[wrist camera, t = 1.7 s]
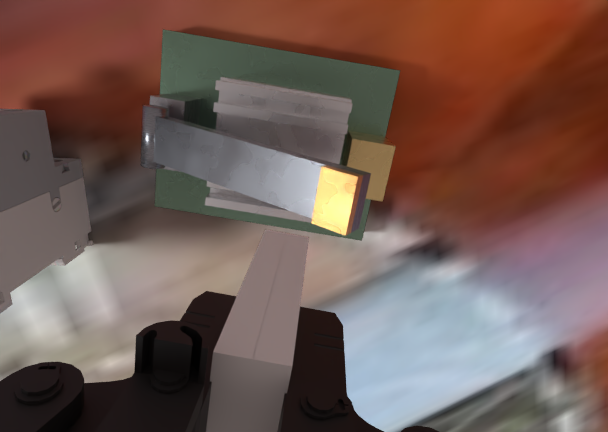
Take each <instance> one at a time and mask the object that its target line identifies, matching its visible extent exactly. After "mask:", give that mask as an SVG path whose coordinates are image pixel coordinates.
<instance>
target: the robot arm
mask: <svg viewBox="0 0 608 432" xmlns="http://www.w3.org/2000/svg"><path fill="white" fill-rule="evenodd" d="M308 240H309V237H305V236H300V235H294V234H289V233H283V232H278V231H272V230H267V229H265V231H264V233H263V236H262V238H261V240H260V243H259V245H258V247H257V250H256V252H255V255H254V257H253V259H252V262H251V264H250V266H249V269H248V271H247V273H246V276H245V278H244V280H243V283H242V285H241V288H240V290H239V292H238V295H237V297H236V296H231V295H225V294H220V293H214V292H209V291H206V292H204V293H203V294H201V295H200V296H198V297H196V298H195V299H193V301H192V302H191V304H190V305H189V307H188V309H187V310H186V313H185V314H184V315H183V317H182V318H181V320H180V321H165V322H159V323H155V324H153V325H151V326H148V327H146V328H144V329H143V330H142V331H141V332H140V333H139V334H137V335H136V354H135V373H134V374H133V376H132V377H130V378H127V379H124V380H118V381H111V382H97V383H84V378H83V375H82V373H81V371H80V370H79V369H77V368H76V367H74V366H73V365H71V364H66V363H62V362H44V363H39V364H35V365H31V366H28V367H25V368H23V369H21V370H19V371H17V372H15V373H13V374H11V375H9V376H8V377H6V378H5V379H3V380H1V381H0V432H384V431H382V430H379V429H377V428H375V427H374V426H372V425H370V424H368V423H367V422H366V421H364V420H363V419H362V418H361V417H360V416H358V414H357V413H356V412H355V411H354V408H353V405H352V402H351V400H350V399H349V398H348V397H347V392H346V374H345V356H344V341H343V338H344V337H343V325H342V323H341V322H340V320H339V319H338V317H337V316H336V314H335V313H332V312H326V311H321V310H315V309H310V308H304V307H300V303H301V295H302V287H303V279H304V272H305V264H306V256H307V248H308ZM401 432H439V431H437V430H434V429H432V428H429V427H423V426H412V427H407V428H404V429H403V430H402V431H401Z"/></svg>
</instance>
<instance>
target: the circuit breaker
mask: <svg viewBox="0 0 608 432" xmlns="http://www.w3.org/2000/svg"><path fill="white" fill-rule="evenodd" d="M89 232H91V225H90V218H89V211H88V204H87V197H86V190H85V184H84V177H83V170H82V163H81V159H74V158H53V153H52V147H51V141H50V136H49V130H48V124H47V118H46V112H45V110H25V109H0V313H1V312H3V311H4V310H6V309H7V308H8V307H10V306H11V305H12V300H11V295H10V292H11V291H13V290H14V289H16V288H17V287H19V286H20V285H21V284H23V283H24V282H26V281H27V280H29V279H30V278H32V277H33V276H34V275H36V274H37V273H39V272H40V271H42V270H43V269H44V268H46V267H47V266H49V265H63V266H65V265H66V264H68V263H69V262H70V261H72V260H73V259H74V258H76V257H77V256H78V255H80V254H81V253H82V252H84V248H85V247H86V246H92V245H93V240H89V238H88V233H89ZM75 245H77V249H75Z"/></svg>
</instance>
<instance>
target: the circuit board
mask: <svg viewBox="0 0 608 432" xmlns="http://www.w3.org/2000/svg"><path fill="white" fill-rule="evenodd" d="M399 74H400V71H399V70H393V69H388V68H382V67H376V66H370V65H365V64H359V63H353V62H347V61H342V60H336V59H330V58H324V57H319V56H313V55H307V54H301V53H296V52H290V51H284V50H278V49H273V48H267V47H261V46H255V45H250V44H244V43H238V42H232V41H227V40H221V39H215V38H209V37H204V36H198V35H192V34H186V33H181V32H175V31H169V30H163V38H162V59H161V80H160V95H152V96H150V105H157V106H163V107H167V108H168V117H172V118H175V119H179V120H183V121H186V122H190V123H193V124H197V125H200V126H204V127H208V128H211V129H215V130H218V131H222V132H226V133H229V134H233V135H236V136H240V137H243V138H247V139H251V140H254V141H258V142H261V143H265V144H268V145H272V146H276V147H279V148H283V149H286V150H290V151H293V152H297V153H301V154H304V155H308V156H311V157H315V158H318V159H322V160H326V161H329V162H333V163H336V164H340V165H344V166H347V167H351V168H354V169H358V170H361V171H365V172H369V173H371V176H370V181H369V185H368V190H367V194H366V199H365V204H364V208H363V213H362V217H361V222H360V226H359V229H357V230H355V231H353V232H352V233H350V234H348V235H346V236H345V235H342V234H340V233H337V232H334V231H331V230H329V229H326V228H323V227H320V226H318V225H315V224H312V223H311V222H312V219H311V218H308V217H305V216H303V215H300V214H297V213H294V212H292V211H289V210H286V209H283V208H281V207H278V206H275V205H272V204H269V203H267V202H264V201H261V200H258V199H256V198H253V197H250V196H247V195H245V194H242V193H239V192H236V191H233V190H231V189H228V188H225V187H222V186H220V185H217V184H214V183H211V182H209V181H206V180H203V179H200V178H198V177H195V176H192V175H189V174H186V173H184V172H181V171H178V170H175V169H173V168H170V167H167V166H165V168H162V169H156V187H155V206H156V207H162V208H168V209H174V210H180V211H186V212H192V213H198V214H204V215H210V216H216V217H223V218H229V219H235V220H241V221H247V222H253V223H259V224H265V225H271V226H277V227H283V228H289V229H295V230H301V231H307V232H313V233H319V234H325V235H331V236H337V237H343V238H349V239H355V240H361V241H362V238H363V233H364V229H365V224H366V220H367V215H368V211H369V207H370V202H371V200H377V201H383V198H384V194H385V190H386V185H387V181H388V177H389V173H390V168H391V164H392V160H393V156H394V152H395V147H396V146H395V145H394V144H393V143H392V142H390V141H389V140H388V139H387V138H386V137H385V136H386V131H387V127H388V123H389V118H390V114H391V109H392V105H393V100H394V96H395V92H396V87H397V83H398V78H399Z"/></svg>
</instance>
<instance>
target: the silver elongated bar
mask: <svg viewBox="0 0 608 432" xmlns="http://www.w3.org/2000/svg"><path fill="white" fill-rule="evenodd" d="M141 166H142V167H145V168H150V169H162V168H165V166H167V167H170V168H173V169H175V170H178V171H181V172H184V173H186V174H189V175H192V176H195V177H198V178H200V179H203V180H206V181H209V182H211V183H214V184H217V185H220V186H222V187H225V188H228V189H231V190H233V191H236V192H239V193H242V194H245V195H247V196H250V197H253V198H256V199H258V200H261V201H264V202H267V203H269V204H272V205H275V206H278V207H281V208H283V209H286V210H289V211H292V212H294V213H297V214H300V215H303V216H305V217H308V218H311V219H312V222H311V223H312V224H315V225H318V226H320V227H323V228H326V229H329V230H331V231H334V232H337V233H340V234H342V235H345V236H346V235H348V234H350V233H352V232H353V231H355V230H357V229H359V226H360V222H361V217H362V213H363V208H364V204H365V199H366V194H367V190H368V185H369V181H370V176H371V173H369V172H365V171H361V170H358V169H354V168H351V167H347V166H344V165H340V164H336V163H333V162H329V161H326V160H322V159H318V158H315V157H311V156H308V155H304V154H301V153H297V152H293V151H290V150H286V149H283V148H279V147H276V146H272V145H268V144H265V143H261V142H258V141H254V140H251V139H247V138H243V137H240V136H236V135H233V134H229V133H226V132H222V131H218V130H215V129H211V128H208V127H204V126H200V125H197V124H193V123H190V122H186V121H183V120H179V119H175V118H172V117H168V108H167V107H163V106H157V105H143V110H142V140H141Z"/></svg>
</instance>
